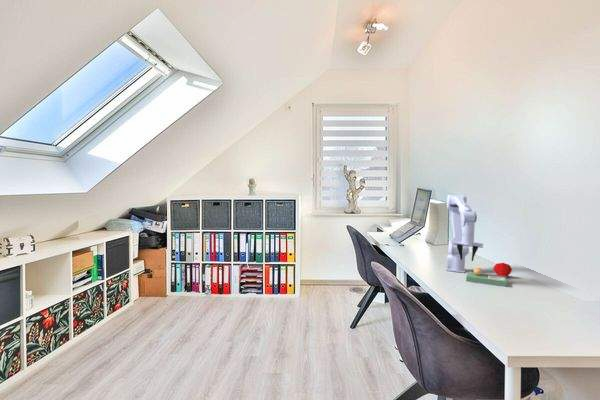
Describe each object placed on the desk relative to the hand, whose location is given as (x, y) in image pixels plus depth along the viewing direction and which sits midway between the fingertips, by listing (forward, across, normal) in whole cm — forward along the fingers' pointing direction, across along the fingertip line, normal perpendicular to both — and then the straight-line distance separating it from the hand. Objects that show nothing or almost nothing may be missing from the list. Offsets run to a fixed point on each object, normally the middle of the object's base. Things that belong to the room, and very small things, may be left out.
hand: (466, 259), depth 191 cm
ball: (+5, +6, 0) cm, 8 cm away
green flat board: (+10, +10, 0) cm, 14 cm away
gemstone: (+10, +18, +13) cm, 24 cm away
